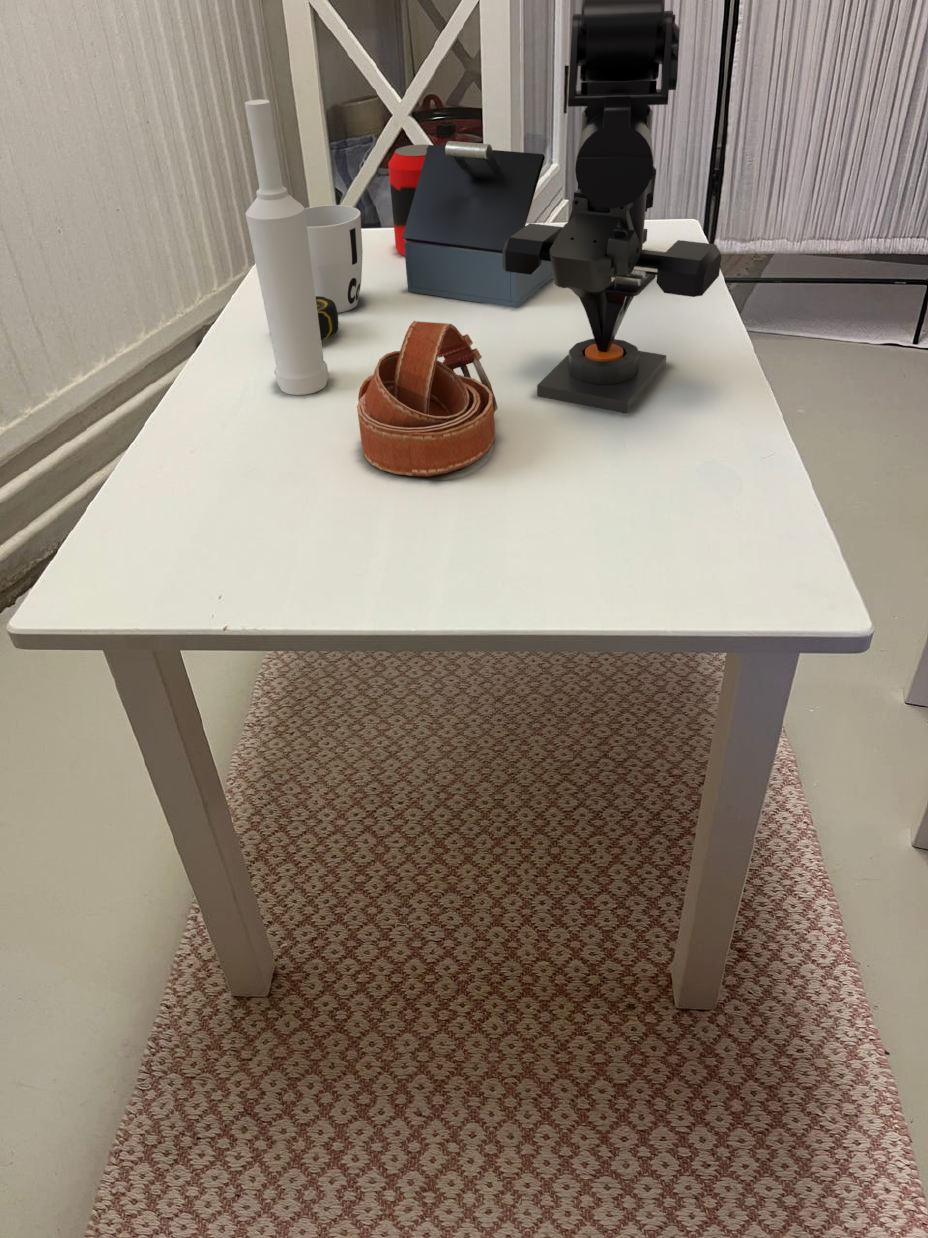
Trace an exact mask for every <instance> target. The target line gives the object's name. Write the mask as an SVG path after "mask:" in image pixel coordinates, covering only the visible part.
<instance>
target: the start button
mask: <svg viewBox="0 0 928 1238" xmlns="http://www.w3.org/2000/svg"><path fill="white" fill-rule="evenodd" d="M585 357H587V358H588V359H590V360H595V361H600V362H604V361H615V360H618V359H621V358H623V349H622V348H621V347H620V346H618V345H615V344H612V345H611V347H610V349H609V350H608V351H607V352H603V351H598V348H597V345H596V344H593V345H590V346H588V347H587V348H586V350H585Z"/></svg>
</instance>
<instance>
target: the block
mask: <svg viewBox="0 0 928 1238" xmlns="http://www.w3.org/2000/svg"><path fill="white" fill-rule="evenodd" d="M593 344H596V342H595V339H594V338H589V339H586V340H582V341H579V342H576V343H574V345H573V346H572V347H571V348H570V349H569V350H568V354H567V355H566V356H565V357H564V358H563V359H562V360H561V361H560V362H559V363H558V364H557V365H556V366H555V367H554V368H553V369H552V370H551V371H550V372H549V373H548V374H547V375H546V376H545V377H544V378H543V379H542V380H541V381H540V382H539V383H538V384H537V385H536V396H537V397H539V398H543V399H550V400H555V401H560V402H566V403H570V404H576V405H581V406H587V407H592V408H596V409H601V410H608V411H612V412H617V413H623V414H628V413H629V412H630V410H631V409H632V408H633V406H635V404H636V403H637V402H638V401H639V399H640V398H641V397H642V395H643V394H644V393H645V392H646V390H648V388H649V387H650V386H651V385H652V383H653V382H654V381H655V380H656V378H657V377H658V376H659V375H660V373H661V372H662V371H663V370H664V368H666V364H667V363H666V362H667V354H661V353H654V352H650V351H643V350H639V349H638V347H637V345H634V344H632V343H630V342H629V341H626V340H624V339H616V338H614V340H613V343H612V344H615V345H618V346H620V347H621V348H622V349H623V358H621V359H618V360H615V361H604V362H600V361H595V360H590V359H588V358H587V357H585V350H586V348H587V347H588V346H590V345H593Z"/></svg>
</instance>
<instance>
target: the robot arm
mask: <svg viewBox="0 0 928 1238" xmlns="http://www.w3.org/2000/svg"><path fill="white" fill-rule="evenodd" d="M665 4H666V0H581V13H572V18H571V36H570V37H571V39H570V57H569V72H568V73H569V74H568V75H569V76H568V91H567V93H568V94H567V95H568V96H567V107H568V108H573V107H574V108H579V107H584V109H583V111H582V112H581V122H580V123H581V125H580V126H581V127H580V138H579V142H578V149H577V154H576V159H575V168H574V171H575V180H576V182H577V190H575V191H574V192H573V199H572V202H571V212H570V215H569V218H568V221H567V222H566V223H565V224H564V225H563V226H557V225H548V224H540V223H531V222H530V223H528V224H526V225H525V227H524V228H522V229H521V230H519V231H518V232H517V233H515V234H514V235H512V236H511V237H509V239H508V240H507V241H506V242H505V245H504V248H503V269H504V270H505V271H507V272H514V273H522V274H529V275H531V274H533V273H534V272H535V271H536V270H537V269H538V268H539V267H540V266H541V265H542V260H544V261H551V265H552V272H553V278H552V280H553V284H554V286H556V287H558V288H561V289H568V290H571V291H572V292H573V293H574V295H576V296H577V297H578V298H579V300H580V302H581V305H582V307H583V309H584V312H585V314H586V317H587V320H588V323H589V327H590V330H591V332H592V336H593V339H595V342H596V345H597V348H598V351H603V352H607V351H608V350H609V349H610V347H611V345H612V343H613V340H614V339H616V336H617V333H618V332H619V330H620V327H621V324H622V322H623V320H624V318H625V316H626V314H627V311H628V308H629V307H630V305H631V303H632V301H633V299H634V298H635V297H637V296H639V295H640V294H641V293H642V292H643V291H644V290H645V289H646V288H647V287H648V286H649V285H650V284H651V283H652V282H653V281H654V280H655V279H656V281H655V283H656V284H657V286H658V287H659V288H660V290H661V291H662V292H663V293H664V294H670V295H675V296H682V297H683V296H684V297H689V298H690V297H691V298H695V297H702V296H703V295H704V294H705V293H706V292H707V290H708V289H710V287H711V286H712V285H713V284H714V283H715V281H716V280H717V279H718V278H719V276H720V271H721V263H722V254H721V251H720V249H719V247H718V246H717V244H715V243H707V242H698V241H697V242H696V241H689V240H680V239H677V240H676V241H675V242H674V243H673V244H672V245H671V246H670V247H669V248H668V249H667V250H666V251H659V250H651V249H644V248H643V245H644V244H645V243H646V242H647V240H648V228H645V223H646V222H645V220H646V219H645V218H646V212H648V209H650V208H653V206H654V198H655V197H654V196H655V186H656V178H657V168H656V167H655V166H654V153H653V137H652V129H653V116H654V110H652V107H651V106H668V105H669V94H670V91H676V90H677V84H678V74H679V73H678V71H679V51H680V27H679V25H678V24H677V23H676V13H675V14H674V10H666V9H665V8H666V6H665ZM660 65H661V74H660ZM579 67H580V73H579ZM659 74H660V75H661V78H660V88H657V86H658V85H657V84H658V78H659ZM578 76H579V80H580V81H581V82H580V90H577V89H578ZM612 278H614V279H613V280H612Z"/></svg>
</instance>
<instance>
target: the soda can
mask: <svg viewBox="0 0 928 1238" xmlns="http://www.w3.org/2000/svg"><path fill="white" fill-rule="evenodd" d="M428 145H429V144H411V145H405V146H401V147H398V148H396V149H395V150H394V153H393V154H392V157H391V158H390V159H389V161H388V163H387V166H388V177H389V186H390V187H389V188H390V199H391V210H392V222H393V232H394V244H395V250H396V251H397V252H398V253H399V254H400V255H401V256H404V257H405V250H404V243H405V242H406V240H404V239H403V238H402V237H403V233H404V230H405V226H406V223H407V219H408V216H409V212H410V209H411V205H412V201H413V198H414V194H415V191H416V187H417V184H418V180H419V177H420V173H421V170H422V166H423V163H424V159H425V156H426V152H427V149H428Z"/></svg>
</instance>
